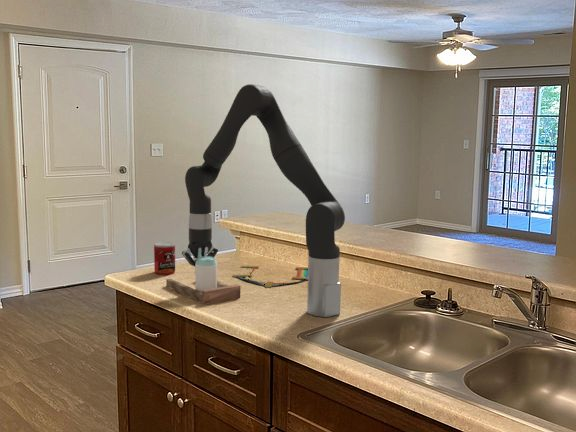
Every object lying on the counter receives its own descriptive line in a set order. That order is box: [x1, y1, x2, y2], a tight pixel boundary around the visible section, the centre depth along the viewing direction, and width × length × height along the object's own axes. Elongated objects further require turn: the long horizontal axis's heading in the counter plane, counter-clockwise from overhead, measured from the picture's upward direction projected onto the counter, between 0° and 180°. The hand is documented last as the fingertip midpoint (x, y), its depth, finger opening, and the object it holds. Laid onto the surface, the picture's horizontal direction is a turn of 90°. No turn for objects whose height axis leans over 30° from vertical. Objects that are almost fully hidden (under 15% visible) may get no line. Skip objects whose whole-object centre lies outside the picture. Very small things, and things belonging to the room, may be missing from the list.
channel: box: [165, 278, 241, 305], centre depth 204 cm, size 26×13×4 cm, turn 38°
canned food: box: [153, 241, 176, 276], centre depth 229 cm, size 8×8×11 cm
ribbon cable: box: [232, 265, 308, 289], centre depth 226 cm, size 29×1×30 cm
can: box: [194, 256, 218, 292], centre depth 201 cm, size 7×7×12 cm
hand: (200, 277), depth 205 cm, fingers closed
